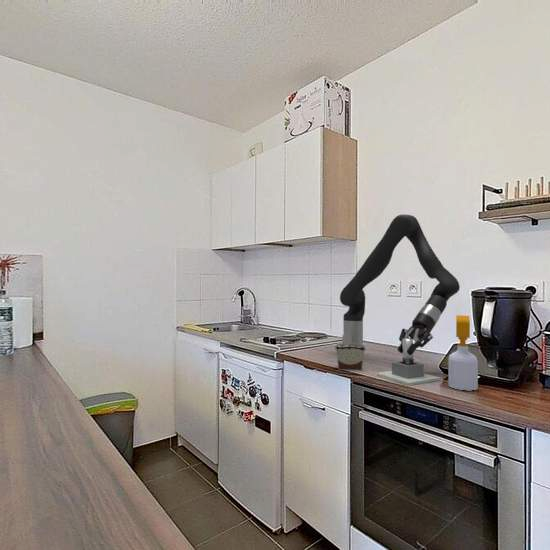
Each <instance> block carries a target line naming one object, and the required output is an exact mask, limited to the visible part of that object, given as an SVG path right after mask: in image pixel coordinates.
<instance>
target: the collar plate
mask: <svg viewBox="0 0 550 550" xmlns="http://www.w3.org/2000/svg"><path fill="white" fill-rule="evenodd" d="M424 372H425V364H424V363H420V362H417V361H414V363H413V364H405V363H402V360H398V361H392V362H391V370H388V371H387V370H386V371H381V372H376V376H377V377H380V378H383V379H387V380H389V381H393V382H395V383H399V384H403V385H405V386H414V385H420V384H428V383H432V382H433V381H434V382H438V381H439V380H440V381H441V377H439V376H435V375H432V374H428V373H424ZM434 382H433V383H434Z"/></svg>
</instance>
